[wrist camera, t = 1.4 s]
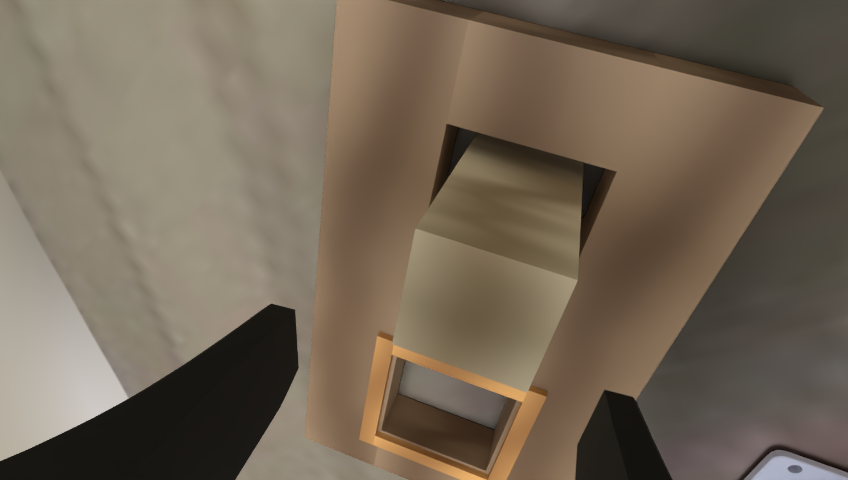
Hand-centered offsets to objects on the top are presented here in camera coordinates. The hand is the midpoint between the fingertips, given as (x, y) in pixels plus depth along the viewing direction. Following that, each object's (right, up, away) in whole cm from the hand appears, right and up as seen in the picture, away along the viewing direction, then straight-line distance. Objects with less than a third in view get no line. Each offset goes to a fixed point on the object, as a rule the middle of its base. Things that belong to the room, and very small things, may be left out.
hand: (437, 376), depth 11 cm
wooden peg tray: (+2, +1, +11) cm, 11 cm away
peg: (+3, +5, +8) cm, 10 cm away
